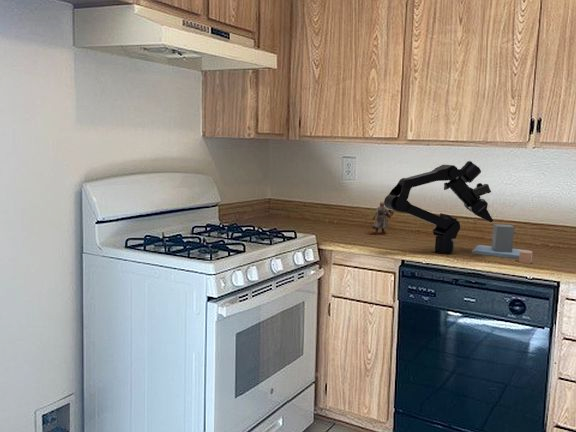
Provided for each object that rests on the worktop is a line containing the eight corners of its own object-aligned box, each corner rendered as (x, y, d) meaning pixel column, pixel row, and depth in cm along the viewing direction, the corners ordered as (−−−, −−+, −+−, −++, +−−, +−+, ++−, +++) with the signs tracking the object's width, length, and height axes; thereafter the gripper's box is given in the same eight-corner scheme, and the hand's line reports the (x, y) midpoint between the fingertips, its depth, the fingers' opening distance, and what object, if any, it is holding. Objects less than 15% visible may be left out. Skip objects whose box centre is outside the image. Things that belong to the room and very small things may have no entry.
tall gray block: (495, 251, 219) (497, 226, 217) (491, 248, 225) (493, 224, 224) (512, 252, 218) (514, 227, 217) (508, 249, 224) (510, 224, 223)
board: (472, 253, 220) (472, 250, 220) (478, 247, 232) (478, 244, 232) (526, 259, 211) (526, 256, 211) (530, 253, 223) (530, 250, 223)
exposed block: (518, 262, 206) (519, 251, 205) (520, 260, 209) (521, 250, 209) (530, 264, 204) (531, 253, 203) (531, 262, 207) (532, 251, 207)
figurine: (391, 232, 267) (392, 200, 265) (399, 234, 261) (401, 202, 258) (365, 233, 262) (366, 201, 260) (373, 235, 255) (374, 203, 253)
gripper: (483, 178, 207) (512, 208, 207) (474, 175, 226) (500, 203, 226) (460, 198, 210) (488, 228, 210) (452, 193, 228) (478, 221, 228)
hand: (489, 219), depth 218 cm, fingers open, 9 cm apart
